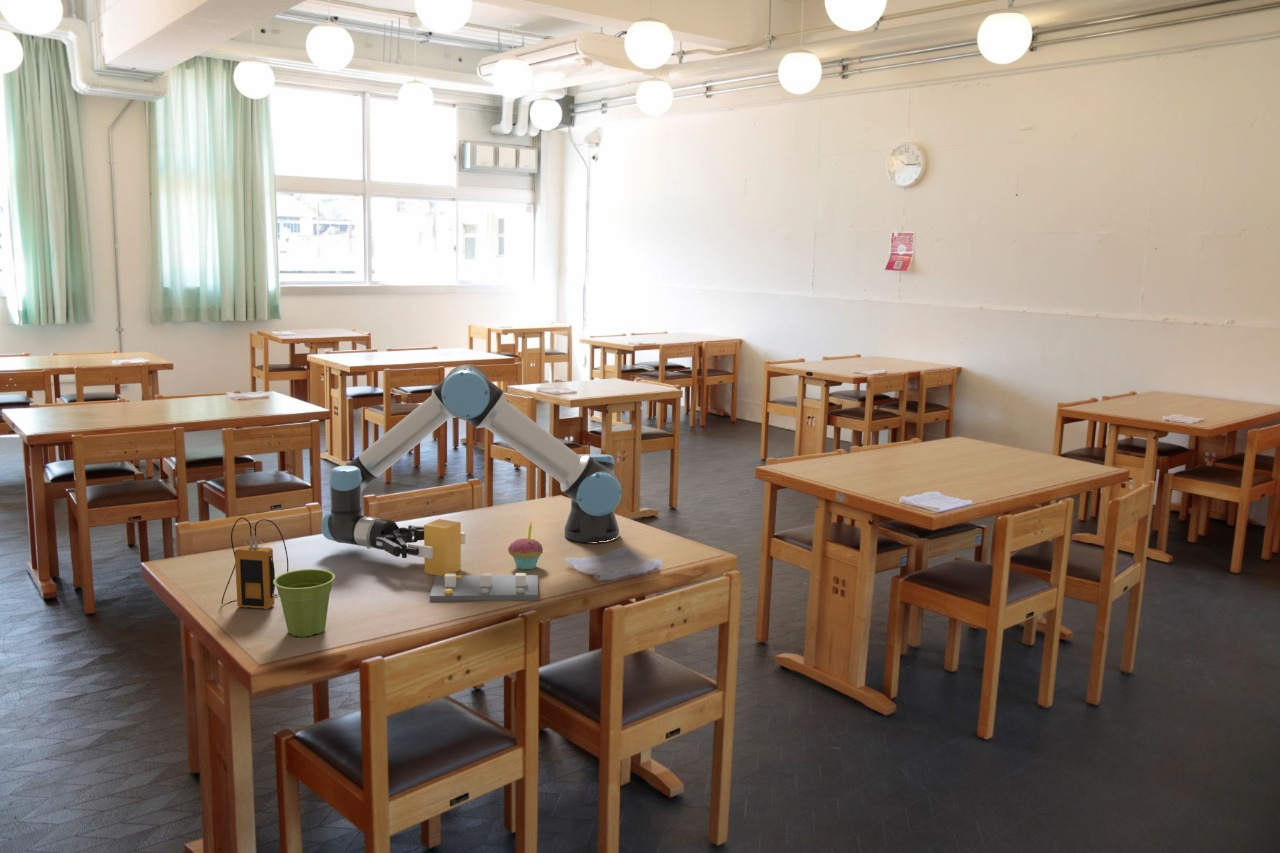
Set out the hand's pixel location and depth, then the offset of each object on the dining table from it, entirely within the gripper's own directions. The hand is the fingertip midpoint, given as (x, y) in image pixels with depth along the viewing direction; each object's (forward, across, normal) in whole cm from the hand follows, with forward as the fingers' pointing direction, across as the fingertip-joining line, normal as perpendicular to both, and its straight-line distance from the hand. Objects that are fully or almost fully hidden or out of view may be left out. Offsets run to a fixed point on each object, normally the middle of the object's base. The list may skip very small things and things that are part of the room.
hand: (448, 545), depth 239 cm
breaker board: (+15, +6, -7) cm, 17 cm away
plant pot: (-4, +45, -7) cm, 45 cm away
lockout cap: (-2, 0, -7) cm, 7 cm away
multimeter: (-24, +36, -7) cm, 43 cm away
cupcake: (+14, -13, -7) cm, 20 cm away
